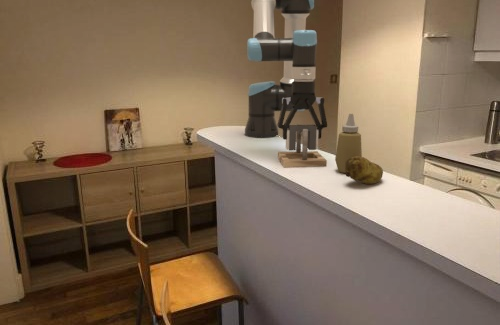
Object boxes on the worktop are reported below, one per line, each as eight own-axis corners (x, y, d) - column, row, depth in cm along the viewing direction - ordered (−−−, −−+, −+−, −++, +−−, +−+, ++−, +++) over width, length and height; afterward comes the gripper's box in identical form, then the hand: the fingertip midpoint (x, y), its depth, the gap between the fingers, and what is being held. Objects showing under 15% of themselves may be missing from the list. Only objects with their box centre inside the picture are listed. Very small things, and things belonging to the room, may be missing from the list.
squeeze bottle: (361, 175, 124) (365, 116, 119) (334, 174, 126) (337, 115, 121) (360, 168, 132) (364, 112, 127) (334, 167, 133) (337, 111, 129)
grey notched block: (289, 150, 137) (289, 126, 135) (287, 148, 140) (288, 125, 138) (315, 149, 138) (316, 126, 136) (313, 147, 141) (314, 124, 139)
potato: (393, 185, 115) (395, 157, 113) (350, 189, 112) (352, 160, 110) (376, 177, 123) (378, 151, 121) (337, 180, 120) (338, 153, 118)
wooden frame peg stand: (277, 157, 146) (278, 123, 143) (316, 156, 147) (318, 123, 144) (283, 167, 133) (284, 130, 130) (326, 166, 135) (328, 129, 131)
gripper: (271, 81, 129) (271, 151, 134) (339, 80, 130) (336, 150, 136) (268, 80, 136) (268, 146, 142) (333, 79, 138) (330, 145, 143)
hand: (301, 148), depth 139 cm, fingers closed on grey notched block, 9 cm apart
